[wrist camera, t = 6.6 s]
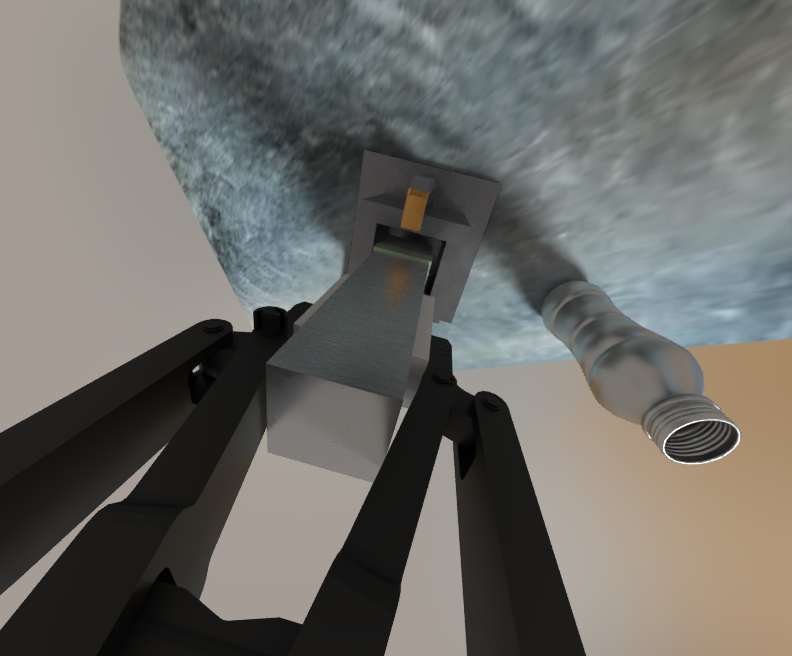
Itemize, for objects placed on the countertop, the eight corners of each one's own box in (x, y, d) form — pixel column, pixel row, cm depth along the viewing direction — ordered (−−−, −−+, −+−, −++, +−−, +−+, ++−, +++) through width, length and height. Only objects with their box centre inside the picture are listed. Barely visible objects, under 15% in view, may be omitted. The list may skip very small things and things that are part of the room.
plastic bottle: (531, 326, 35) (614, 474, 18) (543, 273, 32) (660, 390, 14) (587, 329, 34) (734, 488, 17) (605, 275, 31) (811, 402, 14)
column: (388, 232, 25) (260, 357, 8) (434, 244, 25) (409, 398, 8) (378, 280, 28) (263, 459, 10) (421, 291, 27) (378, 492, 10)
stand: (366, 150, 29) (321, 135, 18) (499, 183, 28) (531, 188, 18) (346, 291, 37) (307, 337, 26) (450, 319, 36) (453, 377, 26)
